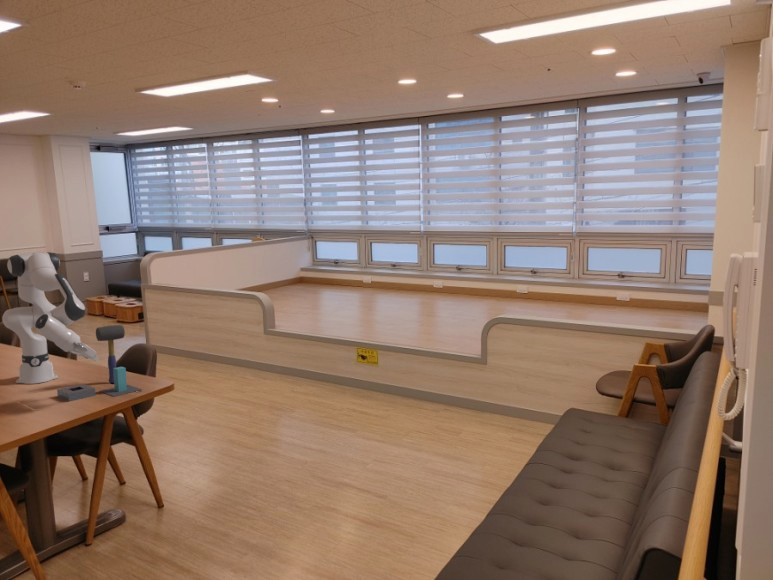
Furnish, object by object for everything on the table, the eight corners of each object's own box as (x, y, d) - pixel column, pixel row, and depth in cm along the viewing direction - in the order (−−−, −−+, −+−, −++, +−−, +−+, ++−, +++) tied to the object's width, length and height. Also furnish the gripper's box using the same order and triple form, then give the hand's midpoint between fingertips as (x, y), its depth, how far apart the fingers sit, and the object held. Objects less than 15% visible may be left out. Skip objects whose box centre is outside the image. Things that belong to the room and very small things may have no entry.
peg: (114, 390, 280) (113, 368, 278) (122, 388, 283) (121, 366, 281) (118, 391, 277) (117, 369, 276) (126, 389, 280) (125, 367, 279)
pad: (99, 392, 279) (99, 390, 279) (127, 386, 290) (127, 384, 290) (113, 397, 270) (113, 396, 270) (142, 391, 281) (142, 389, 281)
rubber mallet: (123, 379, 301) (120, 323, 298) (128, 382, 296) (125, 325, 292) (98, 384, 293) (94, 326, 290) (102, 387, 288) (98, 328, 284)
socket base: (57, 397, 271) (57, 389, 270) (83, 391, 280) (83, 383, 279) (69, 402, 263) (68, 394, 263) (95, 396, 273) (95, 388, 272)
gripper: (85, 339, 255) (108, 356, 263) (64, 333, 267) (87, 350, 276) (75, 350, 252) (99, 368, 260) (55, 344, 264) (78, 361, 273)
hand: (92, 358), depth 268 cm, fingers open, 8 cm apart
